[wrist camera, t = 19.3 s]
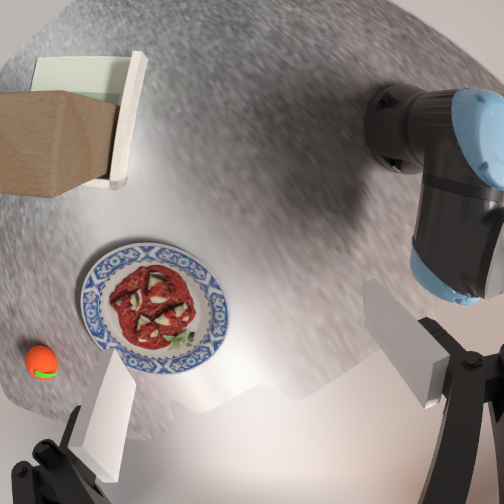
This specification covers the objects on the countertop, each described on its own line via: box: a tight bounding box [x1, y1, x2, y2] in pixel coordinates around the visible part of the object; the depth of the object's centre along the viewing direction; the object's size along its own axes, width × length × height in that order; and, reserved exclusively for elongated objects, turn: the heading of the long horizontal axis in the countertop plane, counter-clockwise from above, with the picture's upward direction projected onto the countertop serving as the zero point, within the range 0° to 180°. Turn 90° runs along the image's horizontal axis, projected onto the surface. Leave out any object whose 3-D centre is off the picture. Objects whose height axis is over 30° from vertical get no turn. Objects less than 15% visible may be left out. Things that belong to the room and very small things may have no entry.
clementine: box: [26, 345, 60, 380], centre depth 51 cm, size 8×7×7 cm
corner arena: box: [31, 51, 148, 190], centre depth 38 cm, size 19×19×5 cm
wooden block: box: [0, 90, 121, 198], centre depth 32 cm, size 10×10×20 cm
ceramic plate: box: [80, 243, 230, 375], centre depth 52 cm, size 26×26×3 cm
